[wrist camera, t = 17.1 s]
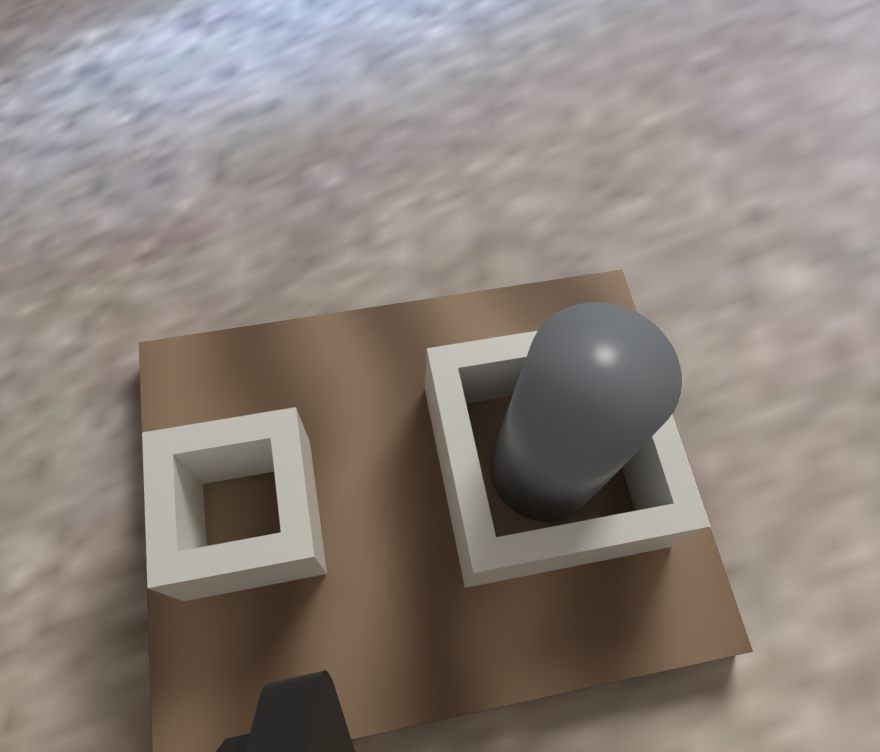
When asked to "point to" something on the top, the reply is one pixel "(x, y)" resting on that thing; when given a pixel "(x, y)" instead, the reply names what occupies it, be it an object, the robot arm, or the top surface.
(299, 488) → the socket fittings
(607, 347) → the capsule
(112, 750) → the top surface
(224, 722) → the board
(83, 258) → the top surface
